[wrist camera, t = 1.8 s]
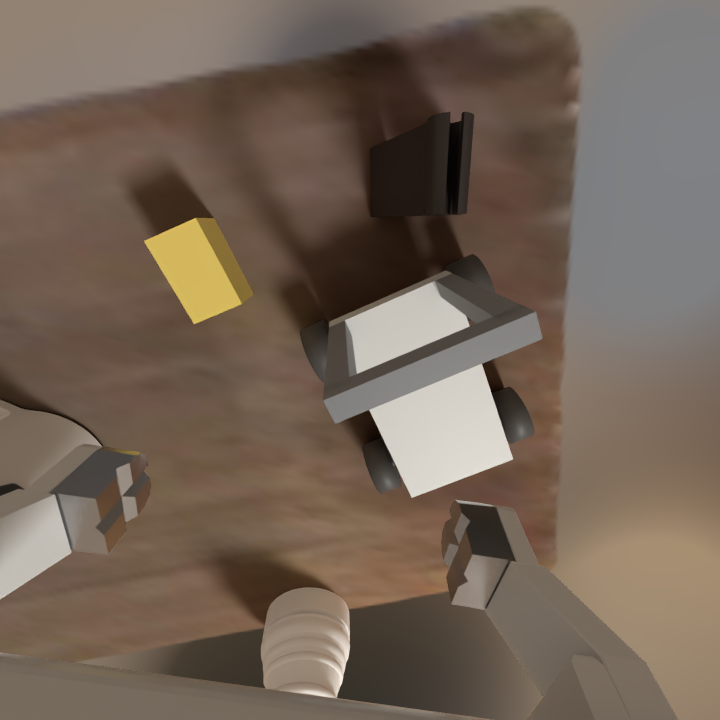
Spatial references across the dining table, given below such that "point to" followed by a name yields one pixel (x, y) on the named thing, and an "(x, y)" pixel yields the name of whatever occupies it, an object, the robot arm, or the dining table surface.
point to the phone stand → (423, 169)
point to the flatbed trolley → (427, 376)
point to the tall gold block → (200, 268)
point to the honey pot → (306, 642)
